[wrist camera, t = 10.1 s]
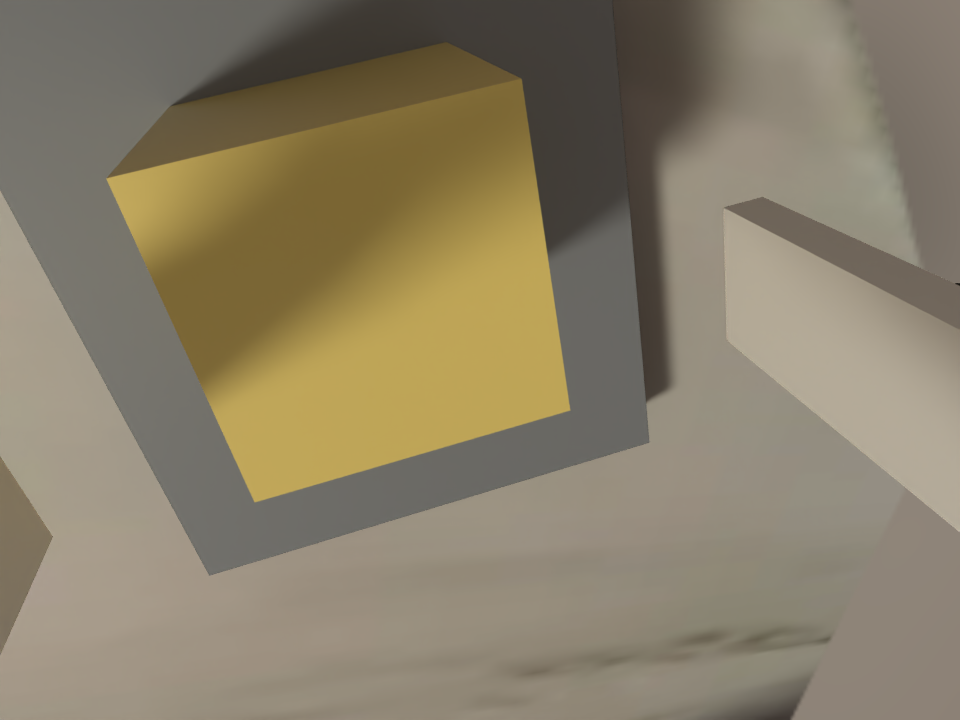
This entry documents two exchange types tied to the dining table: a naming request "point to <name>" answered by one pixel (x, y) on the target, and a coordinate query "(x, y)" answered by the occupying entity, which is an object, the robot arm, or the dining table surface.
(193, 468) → the board
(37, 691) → the dining table surface
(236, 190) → the mustard yellow cube
